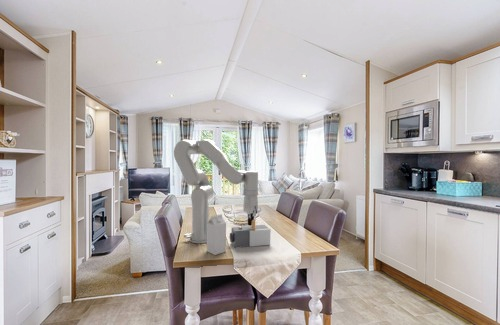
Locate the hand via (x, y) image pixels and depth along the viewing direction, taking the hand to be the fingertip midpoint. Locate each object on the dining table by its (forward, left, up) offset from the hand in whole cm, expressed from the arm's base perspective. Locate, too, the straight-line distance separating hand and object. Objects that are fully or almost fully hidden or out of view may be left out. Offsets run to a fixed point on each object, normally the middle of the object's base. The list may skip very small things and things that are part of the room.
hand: (250, 225), depth 151 cm
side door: (+4, -5, -10) cm, 12 cm away
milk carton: (-21, -7, -11) cm, 25 cm away
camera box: (0, 0, -11) cm, 11 cm away
